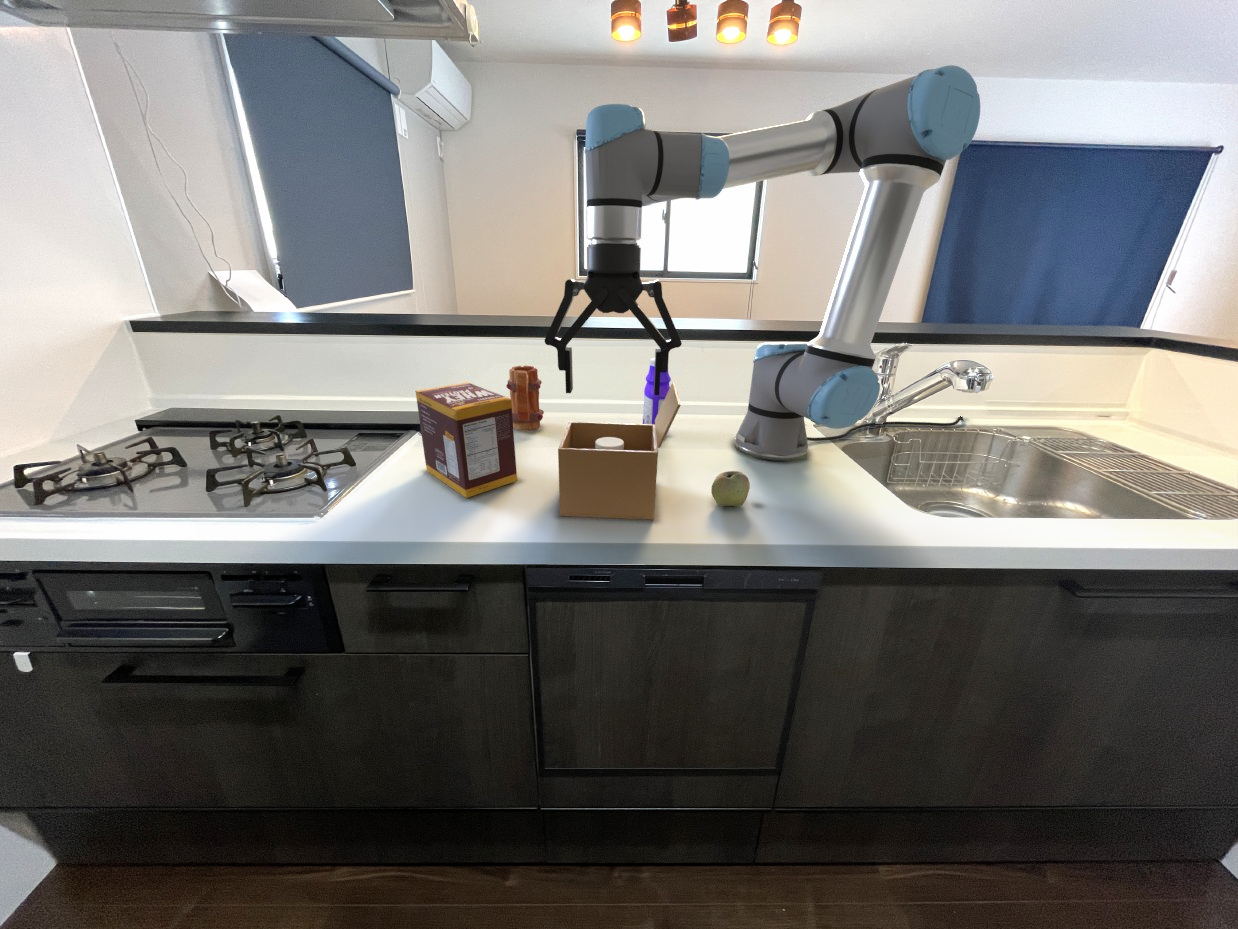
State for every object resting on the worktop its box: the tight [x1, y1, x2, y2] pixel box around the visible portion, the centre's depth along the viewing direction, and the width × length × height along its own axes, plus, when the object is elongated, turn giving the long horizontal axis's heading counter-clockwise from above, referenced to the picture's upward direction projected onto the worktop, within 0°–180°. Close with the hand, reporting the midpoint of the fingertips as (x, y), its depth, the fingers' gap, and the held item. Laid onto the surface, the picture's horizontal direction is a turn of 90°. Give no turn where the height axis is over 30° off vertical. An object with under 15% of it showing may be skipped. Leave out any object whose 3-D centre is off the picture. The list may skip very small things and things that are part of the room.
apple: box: [710, 470, 751, 508], centre depth 82 cm, size 6×8×6 cm
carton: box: [557, 421, 659, 520], centre depth 82 cm, size 15×13×12 cm
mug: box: [505, 364, 545, 431], centre depth 111 cm, size 15×8×15 cm, turn 6°
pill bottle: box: [595, 437, 624, 450], centre depth 82 cm, size 6×6×10 cm
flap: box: [655, 382, 682, 450], centre depth 78 cm, size 7×13×1 cm
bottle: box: [642, 357, 672, 425], centre depth 112 cm, size 7×6×17 cm
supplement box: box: [414, 381, 518, 499], centre depth 88 cm, size 10×15×16 cm
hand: (612, 392), depth 77 cm, fingers open, 13 cm apart
